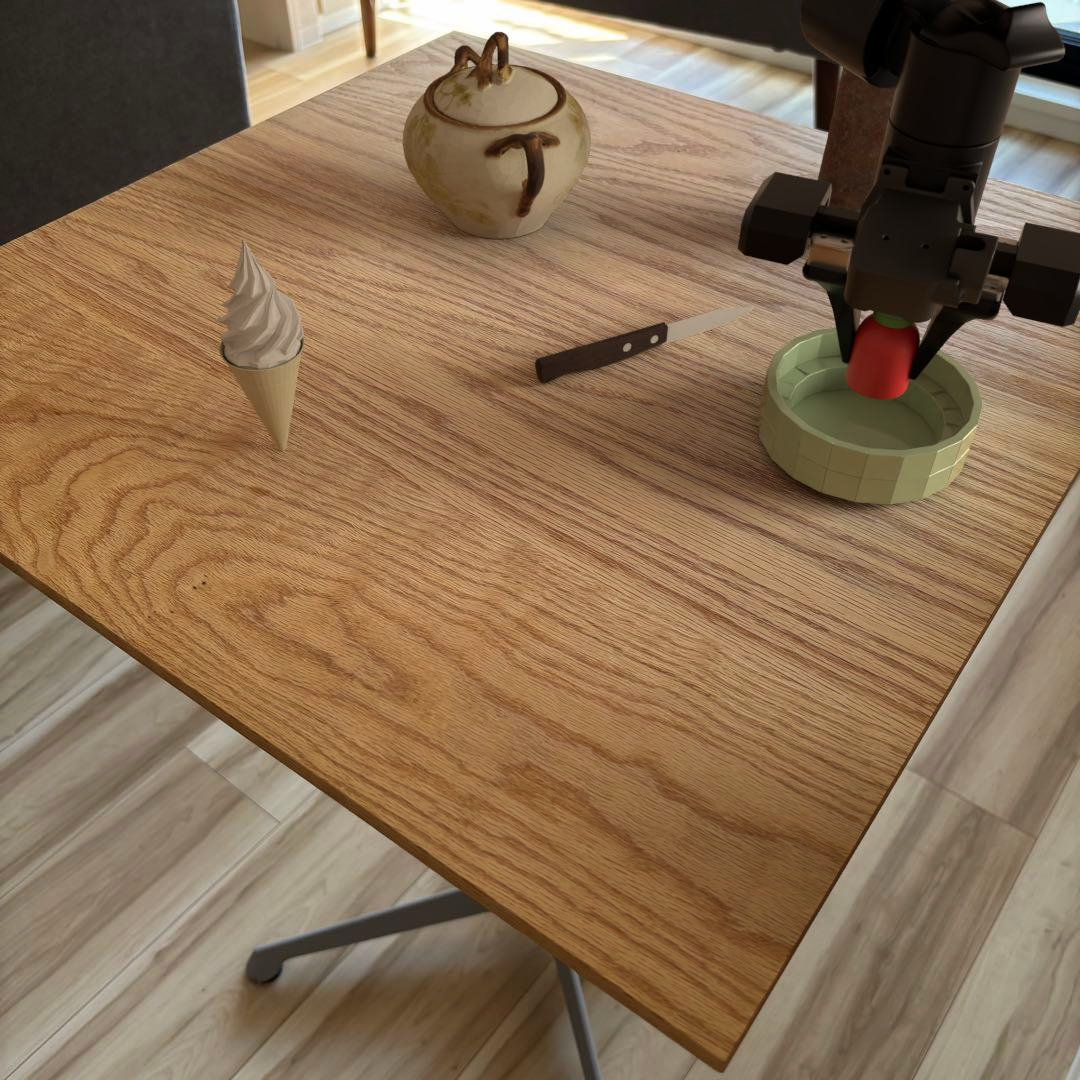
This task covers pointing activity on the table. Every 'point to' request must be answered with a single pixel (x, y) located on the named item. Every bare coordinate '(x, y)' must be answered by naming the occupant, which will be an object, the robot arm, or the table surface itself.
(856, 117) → the candle
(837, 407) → the serving bowl
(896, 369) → the sriracha sauce bottle
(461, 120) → the sugar bowl
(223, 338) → the ice cream cone
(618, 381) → the table surface
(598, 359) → the kitchen knife
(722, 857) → the table surface
